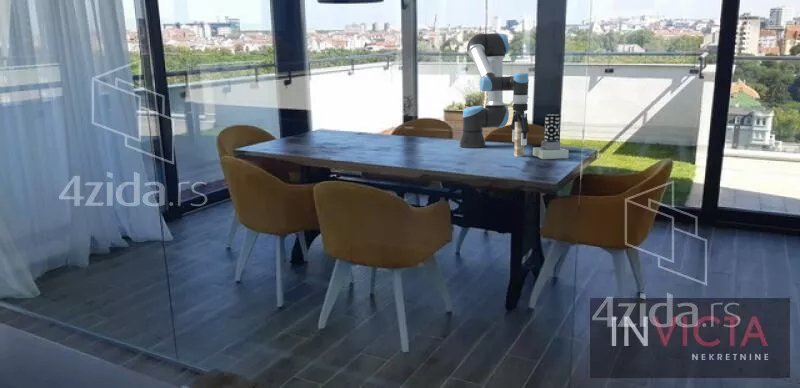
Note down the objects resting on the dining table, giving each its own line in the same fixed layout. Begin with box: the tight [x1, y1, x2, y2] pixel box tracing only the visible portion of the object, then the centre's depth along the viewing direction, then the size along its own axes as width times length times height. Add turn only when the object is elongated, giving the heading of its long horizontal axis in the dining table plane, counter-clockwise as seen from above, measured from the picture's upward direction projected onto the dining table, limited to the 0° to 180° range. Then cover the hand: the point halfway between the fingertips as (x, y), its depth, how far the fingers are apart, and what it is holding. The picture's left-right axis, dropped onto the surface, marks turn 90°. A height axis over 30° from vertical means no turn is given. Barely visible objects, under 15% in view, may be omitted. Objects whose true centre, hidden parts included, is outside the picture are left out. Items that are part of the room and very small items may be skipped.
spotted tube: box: [543, 113, 562, 143], centre depth 343 cm, size 8×8×20 cm
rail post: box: [513, 122, 525, 158], centre depth 329 cm, size 4×4×18 cm
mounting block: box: [532, 146, 570, 160], centre depth 328 cm, size 14×14×4 cm
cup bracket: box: [540, 140, 561, 150], centre depth 327 cm, size 8×8×4 cm
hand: (519, 143), depth 330 cm, fingers open, 13 cm apart
